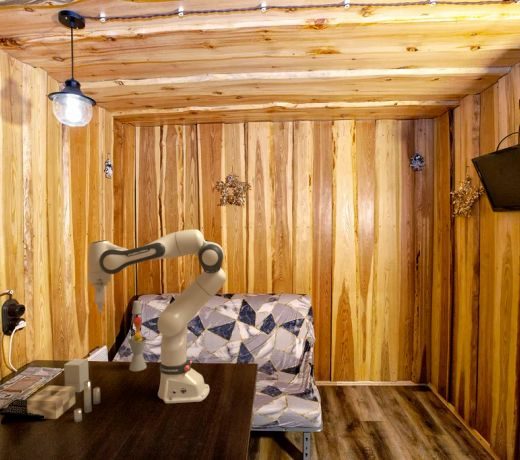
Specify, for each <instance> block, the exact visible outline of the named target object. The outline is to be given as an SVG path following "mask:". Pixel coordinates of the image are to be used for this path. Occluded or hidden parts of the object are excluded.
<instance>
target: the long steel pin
mask: <svg viewBox="0 0 520 460" xmlns="http://www.w3.org/2000/svg"><path fill="white" fill-rule="evenodd" d="M83 405H84V407H83V410H84V413H86V414H88V413H90V412H92V381H91V380H90V379H89V380H87V381H85V382H84V390H83Z"/></svg>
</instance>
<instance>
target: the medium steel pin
mask: <svg viewBox="0 0 520 460" xmlns="http://www.w3.org/2000/svg"><path fill="white" fill-rule="evenodd" d="M92 391H93V392H92V393H93V394H92V395H93V399H92V401H93V405H98V404H100V403H101V388H100V387H99V386H96V387H94V388H93V390H92Z"/></svg>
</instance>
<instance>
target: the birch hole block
mask: <svg viewBox="0 0 520 460" xmlns="http://www.w3.org/2000/svg"><path fill="white" fill-rule="evenodd" d="M75 404H76V392H75V387H73V386H65V385H47V386H45V387H44V388H42V389H41V390H39V391H38V392H36V393H35V394H34V395H32V396H31V397H29V398H28V399H26V412H27V413H33V414H40V415H43V416H44V418H43V419H48V420H49V419H50V420H56V419H58V418H59V417H60V416H62V415H64V413H65V412H67V411H68V410H69V409H70V408H71V407H73V405H75Z"/></svg>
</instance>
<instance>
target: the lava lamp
mask: <svg viewBox="0 0 520 460" xmlns="http://www.w3.org/2000/svg"><path fill="white" fill-rule="evenodd" d="M131 314H132V315H141V314H143V311H142V305H141V301H140V300H134V301H133V303H132V310H131ZM132 324H133V325H134V326H135V333H134V334H133V337H130V338H129V339H127V341H128V342H127V343H128V345H129V346H130V349H131V351H132V353H133V354H132V358H131V361H130V364H129V368H128V370H129V371H131V372H140V371H143V370H146V369H147V364H146V361H145V358H144V354H143V350H144V348H145V345H146V342H147V337H146V336H142V334H141V325H142V318H141V317H140V316H135V317H134V318H133V319H132Z"/></svg>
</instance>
